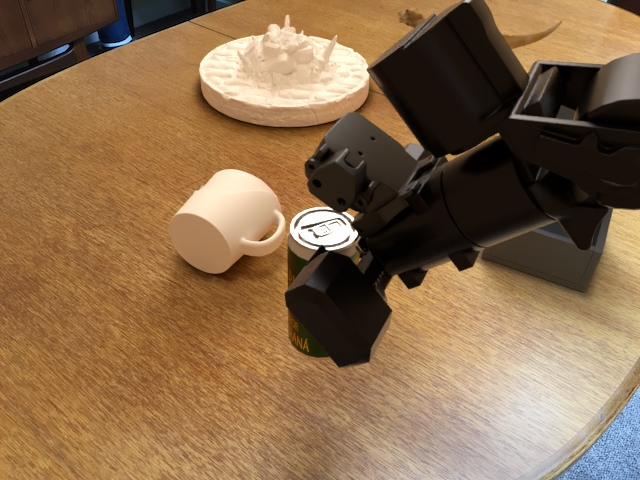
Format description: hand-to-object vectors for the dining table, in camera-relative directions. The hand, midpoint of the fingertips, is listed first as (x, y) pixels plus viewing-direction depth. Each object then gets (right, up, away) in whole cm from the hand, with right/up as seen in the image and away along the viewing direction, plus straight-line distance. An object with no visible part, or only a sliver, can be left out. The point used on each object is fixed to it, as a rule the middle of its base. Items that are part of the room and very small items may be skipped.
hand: (306, 276), depth 47 cm
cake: (-5, +29, +54) cm, 61 cm away
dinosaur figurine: (+26, +29, +56) cm, 68 cm away
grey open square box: (+28, +2, +25) cm, 37 cm away
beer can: (+1, -6, +4) cm, 7 cm away
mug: (-9, +1, +22) cm, 24 cm away
